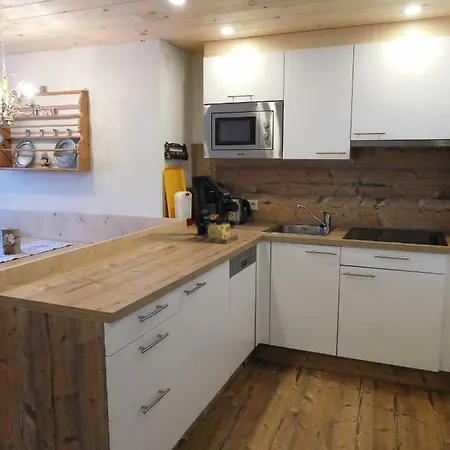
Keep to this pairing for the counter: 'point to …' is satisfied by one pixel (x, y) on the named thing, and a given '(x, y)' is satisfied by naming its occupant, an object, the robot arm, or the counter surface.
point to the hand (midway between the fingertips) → (224, 235)
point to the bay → (217, 239)
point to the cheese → (219, 231)
